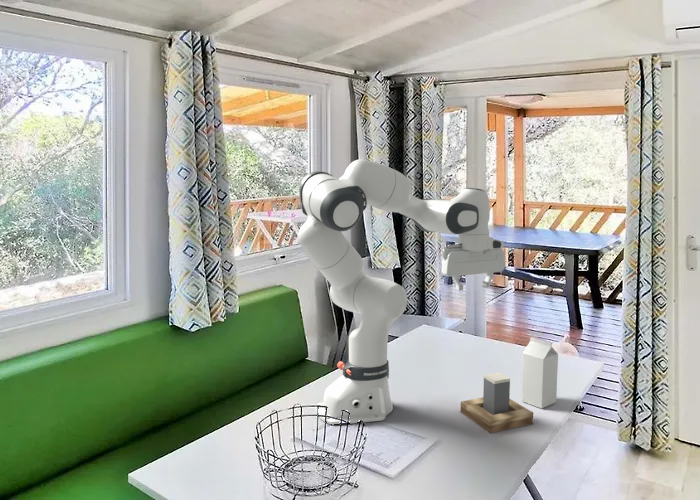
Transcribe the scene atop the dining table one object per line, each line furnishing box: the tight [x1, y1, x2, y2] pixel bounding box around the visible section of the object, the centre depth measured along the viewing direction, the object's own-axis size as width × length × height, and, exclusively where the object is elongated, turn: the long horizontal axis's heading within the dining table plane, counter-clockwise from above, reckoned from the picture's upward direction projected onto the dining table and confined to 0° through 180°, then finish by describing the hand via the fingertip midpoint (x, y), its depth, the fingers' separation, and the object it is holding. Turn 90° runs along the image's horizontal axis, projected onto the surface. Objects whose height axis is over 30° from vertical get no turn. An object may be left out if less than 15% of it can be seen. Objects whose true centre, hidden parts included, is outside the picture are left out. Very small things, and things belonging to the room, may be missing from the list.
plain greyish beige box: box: [482, 372, 511, 415], centre depth 158 cm, size 5×5×10 cm
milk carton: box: [520, 337, 559, 409], centre depth 168 cm, size 7×7×19 cm
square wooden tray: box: [460, 397, 534, 434], centre depth 159 cm, size 14×14×3 cm
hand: (472, 288), depth 171 cm, fingers open, 8 cm apart
